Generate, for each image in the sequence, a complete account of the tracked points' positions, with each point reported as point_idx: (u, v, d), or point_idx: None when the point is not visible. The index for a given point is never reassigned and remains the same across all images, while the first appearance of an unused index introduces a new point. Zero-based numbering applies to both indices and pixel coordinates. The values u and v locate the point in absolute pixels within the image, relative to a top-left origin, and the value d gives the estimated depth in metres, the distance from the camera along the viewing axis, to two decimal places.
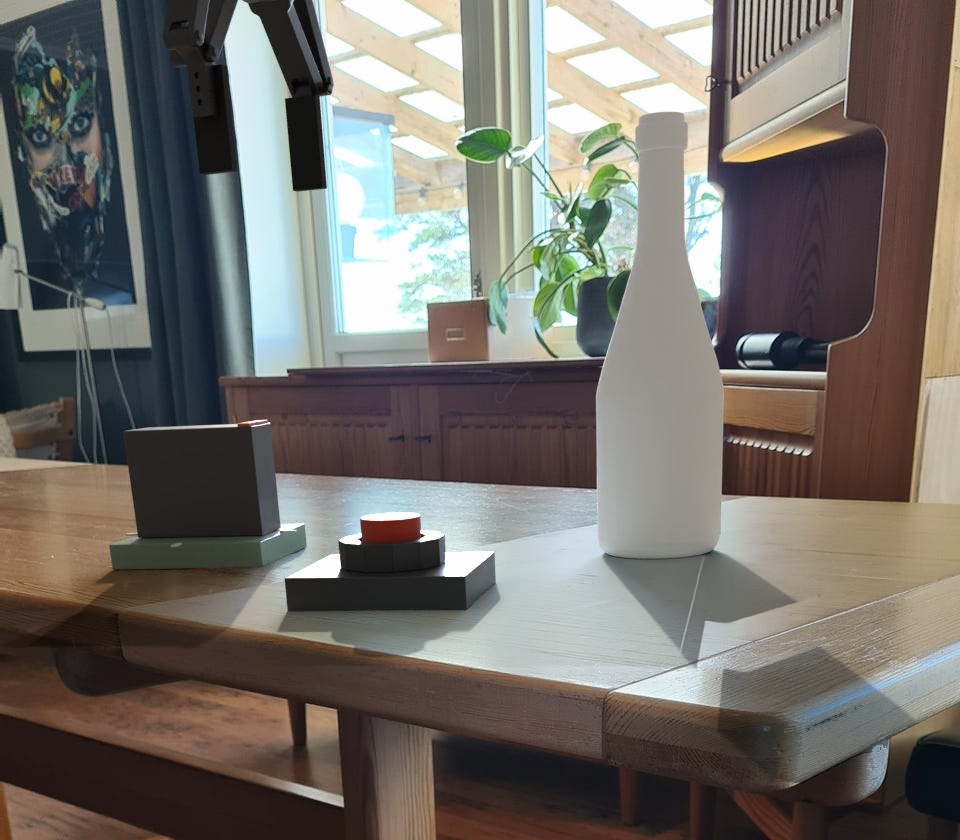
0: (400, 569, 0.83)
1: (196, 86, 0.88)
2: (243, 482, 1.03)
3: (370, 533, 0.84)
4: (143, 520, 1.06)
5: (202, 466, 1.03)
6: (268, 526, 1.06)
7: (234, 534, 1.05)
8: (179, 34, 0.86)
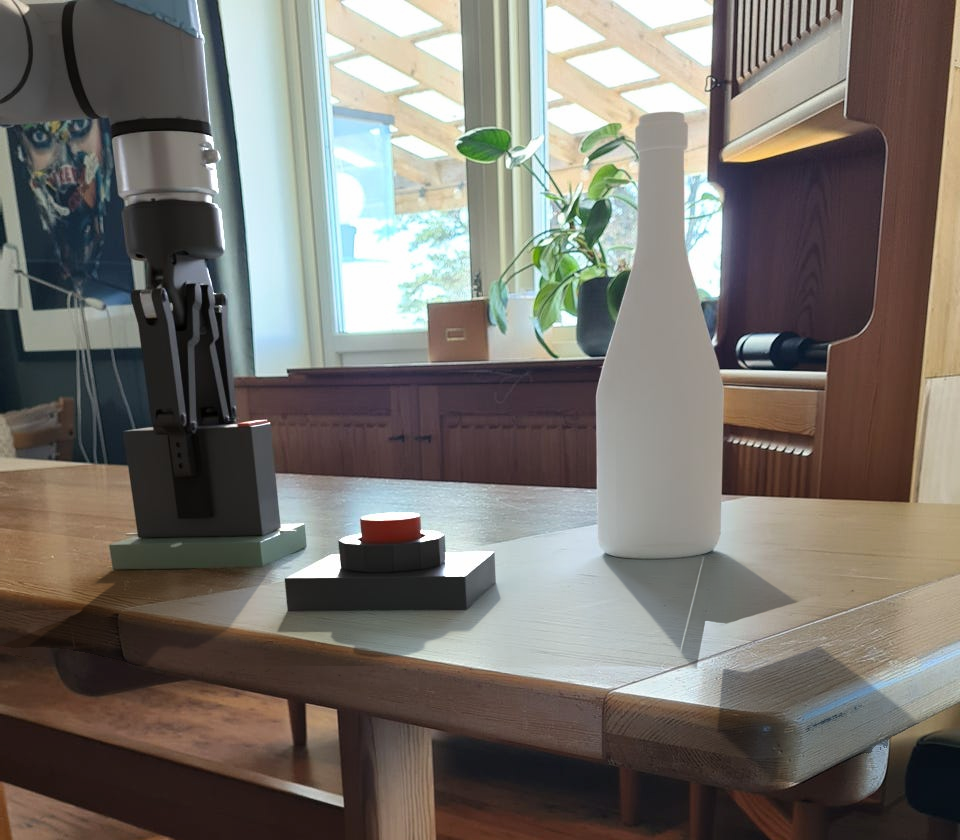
0: (400, 569, 0.83)
1: (177, 453, 1.01)
2: (243, 482, 1.03)
3: (370, 533, 0.84)
4: (143, 520, 1.06)
5: None
6: (268, 526, 1.06)
7: (234, 534, 1.05)
8: (167, 421, 0.99)
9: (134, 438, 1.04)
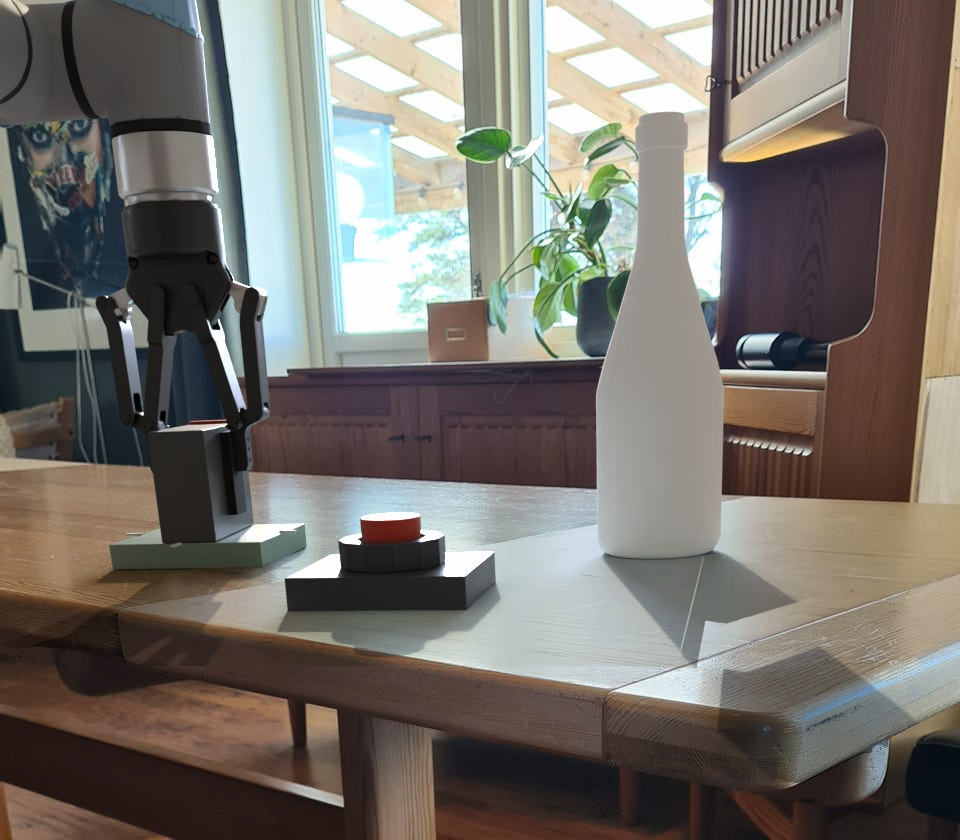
0: (400, 569, 0.83)
1: (247, 447, 1.04)
2: (245, 475, 1.10)
3: (370, 533, 0.84)
4: (216, 522, 1.02)
5: None
6: None
7: (246, 525, 1.10)
8: (266, 414, 1.04)
9: (207, 437, 1.00)
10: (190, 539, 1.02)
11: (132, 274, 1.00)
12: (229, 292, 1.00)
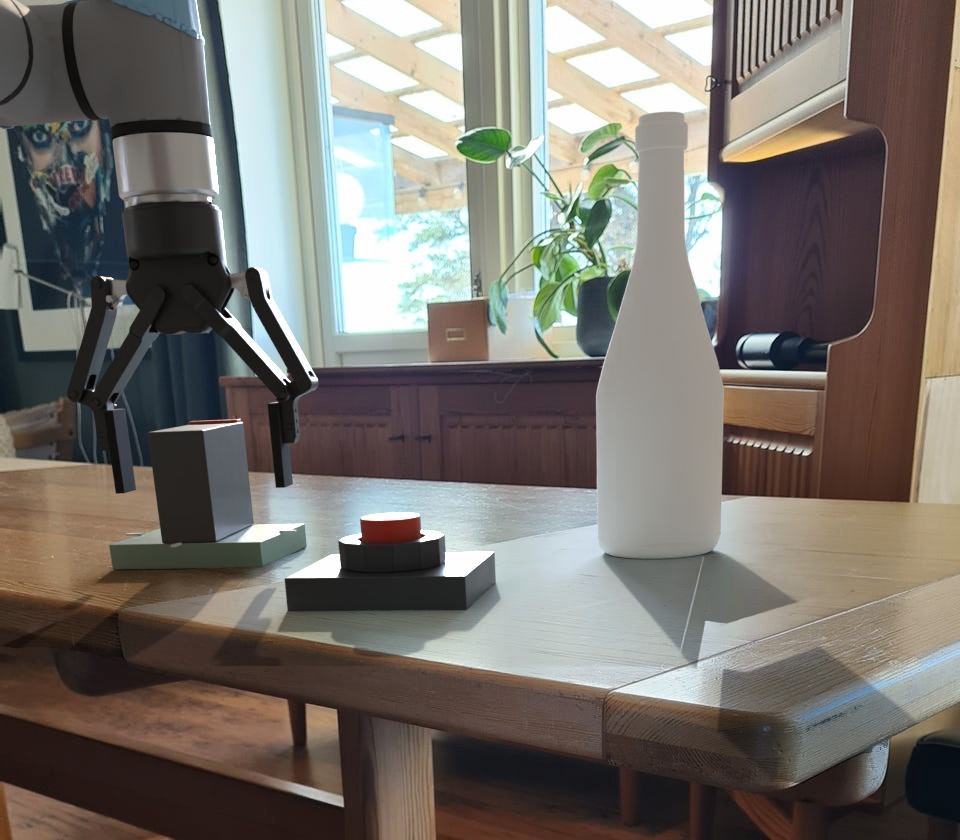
0: (400, 569, 0.83)
1: (295, 419, 1.03)
2: (245, 475, 1.10)
3: (370, 533, 0.84)
4: (216, 522, 1.02)
5: (231, 461, 1.06)
6: None
7: (246, 525, 1.10)
8: (315, 381, 1.02)
9: (207, 437, 1.00)
10: (190, 539, 1.02)
11: (132, 275, 1.00)
12: (232, 285, 1.00)
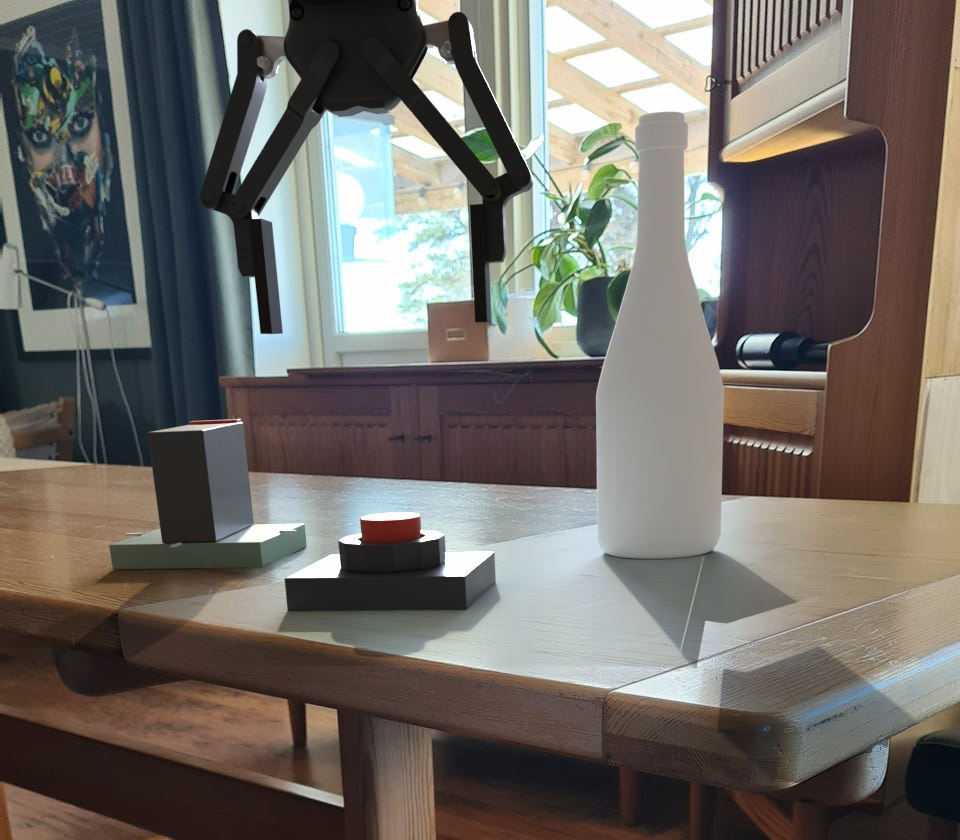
0: (400, 569, 0.83)
1: (503, 229, 0.78)
2: (245, 475, 1.10)
3: (370, 533, 0.84)
4: (216, 522, 1.02)
5: (231, 461, 1.06)
6: None
7: (246, 525, 1.10)
8: (531, 176, 0.77)
9: (207, 437, 1.00)
10: (190, 539, 1.02)
11: (294, 27, 0.74)
12: (427, 41, 0.74)
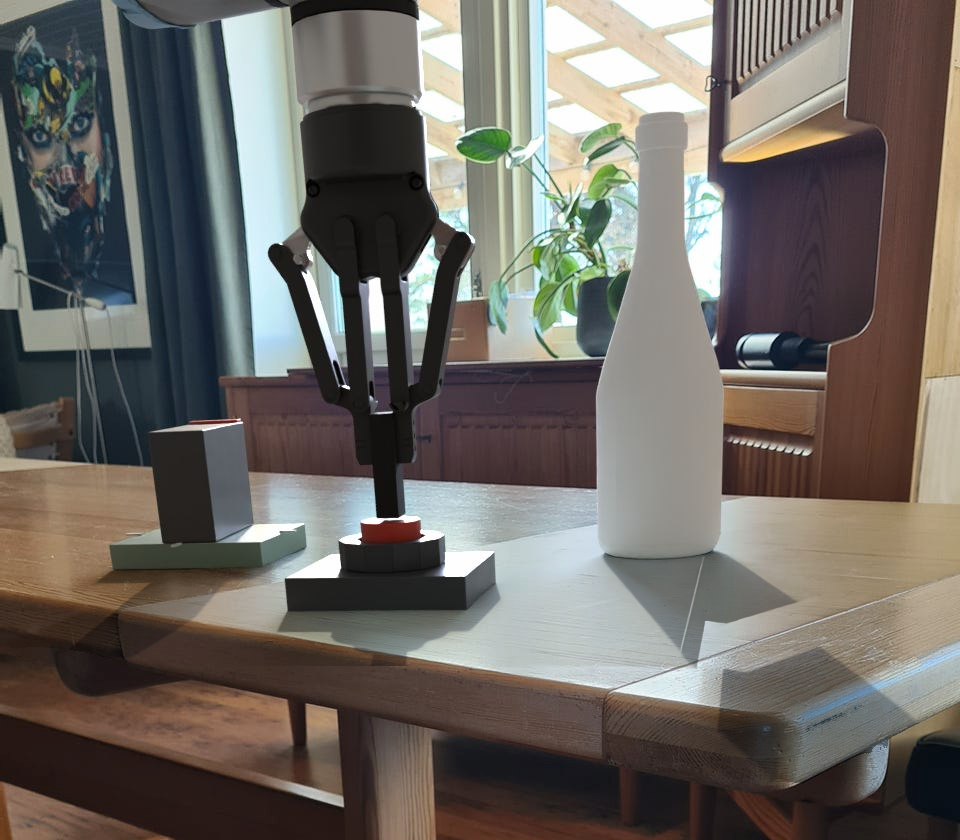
0: (400, 569, 0.83)
1: (413, 433, 0.83)
2: (245, 475, 1.10)
3: (370, 537, 0.84)
4: (216, 522, 1.02)
5: (231, 461, 1.06)
6: None
7: (246, 525, 1.10)
8: (438, 393, 0.82)
9: (207, 437, 1.00)
10: (190, 539, 1.02)
11: (311, 204, 0.78)
12: (431, 231, 0.78)
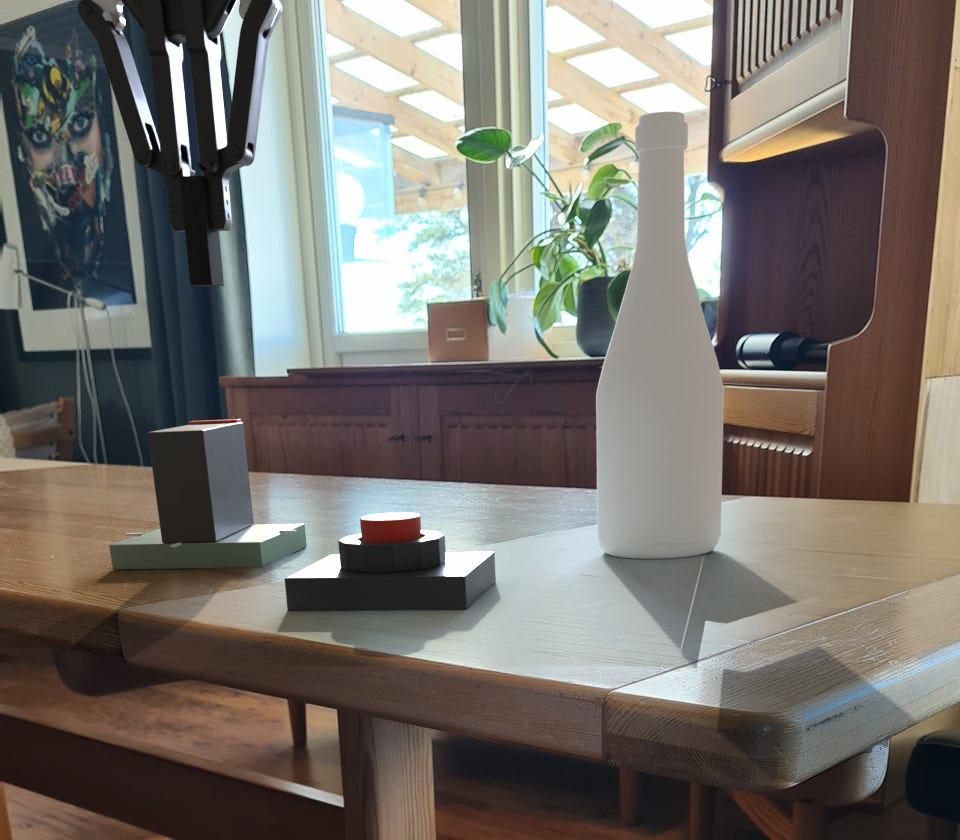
0: (400, 569, 0.83)
1: (225, 199, 0.85)
2: (245, 475, 1.10)
3: (370, 533, 0.84)
4: (216, 522, 1.02)
5: (231, 461, 1.06)
6: None
7: (246, 525, 1.10)
8: (248, 158, 0.84)
9: (207, 437, 1.00)
10: (190, 539, 1.02)
11: None
12: None
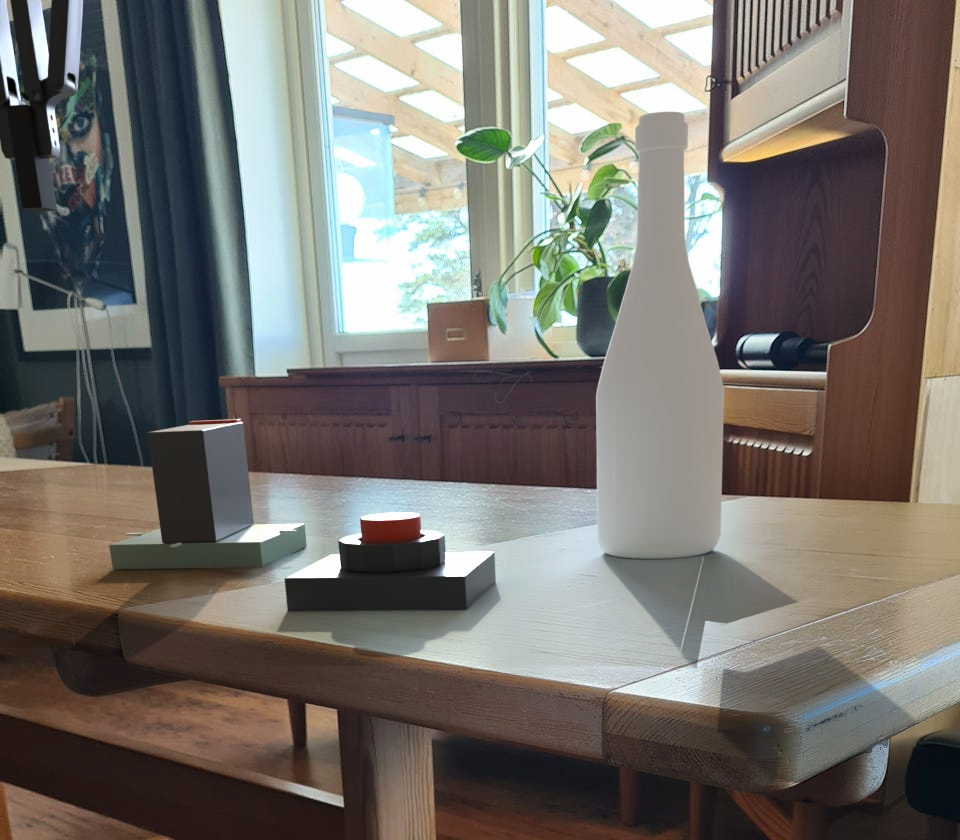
0: (400, 569, 0.83)
1: (51, 127, 0.92)
2: (245, 475, 1.10)
3: (370, 533, 0.84)
4: (216, 522, 1.02)
5: (231, 461, 1.06)
6: None
7: (246, 525, 1.10)
8: (70, 88, 0.91)
9: (207, 437, 1.00)
10: (190, 539, 1.02)
11: None
12: None
